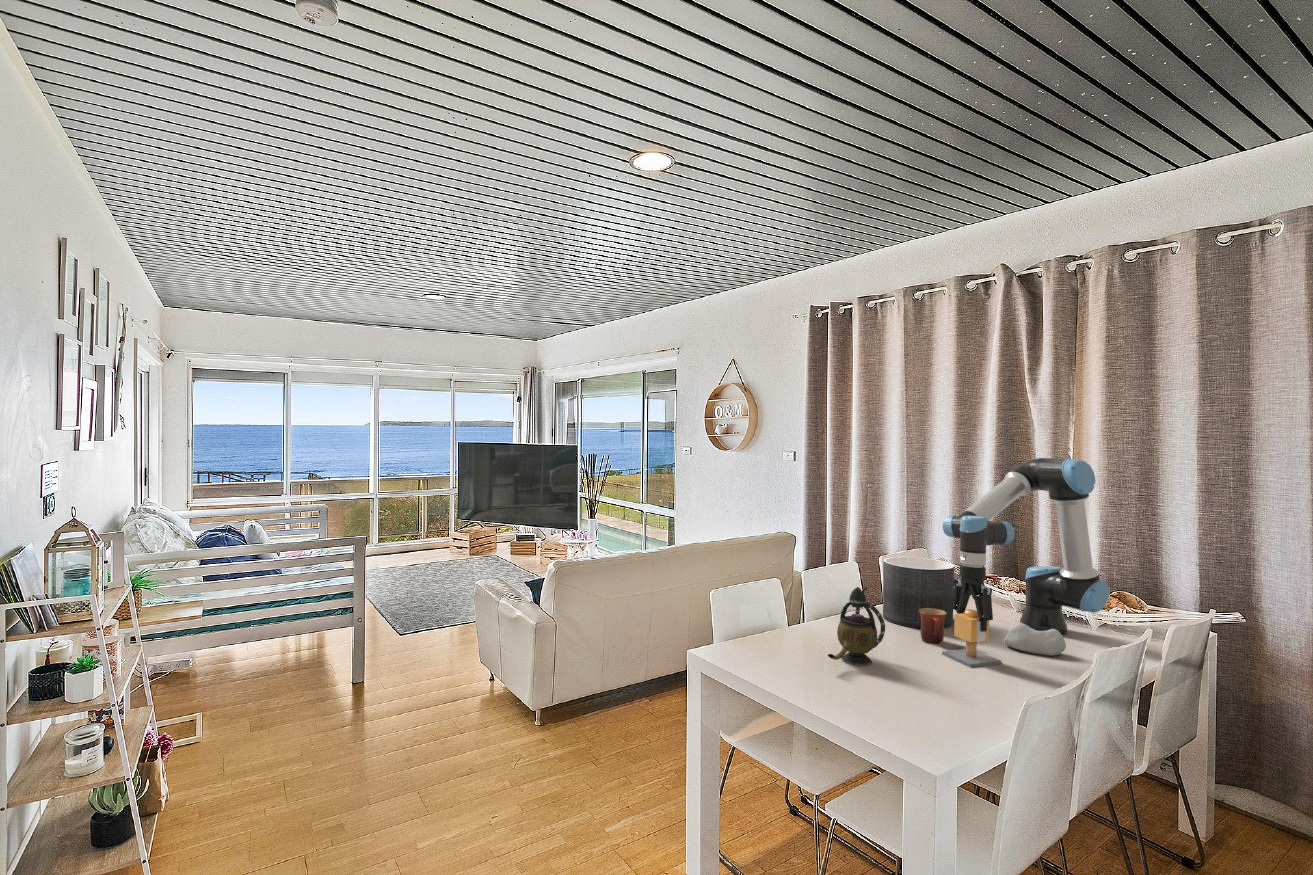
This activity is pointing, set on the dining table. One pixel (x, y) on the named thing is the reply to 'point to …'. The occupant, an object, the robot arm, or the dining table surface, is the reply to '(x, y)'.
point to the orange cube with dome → (968, 626)
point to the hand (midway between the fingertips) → (971, 637)
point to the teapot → (858, 631)
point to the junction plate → (970, 660)
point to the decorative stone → (1035, 640)
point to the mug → (932, 625)
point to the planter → (916, 589)
